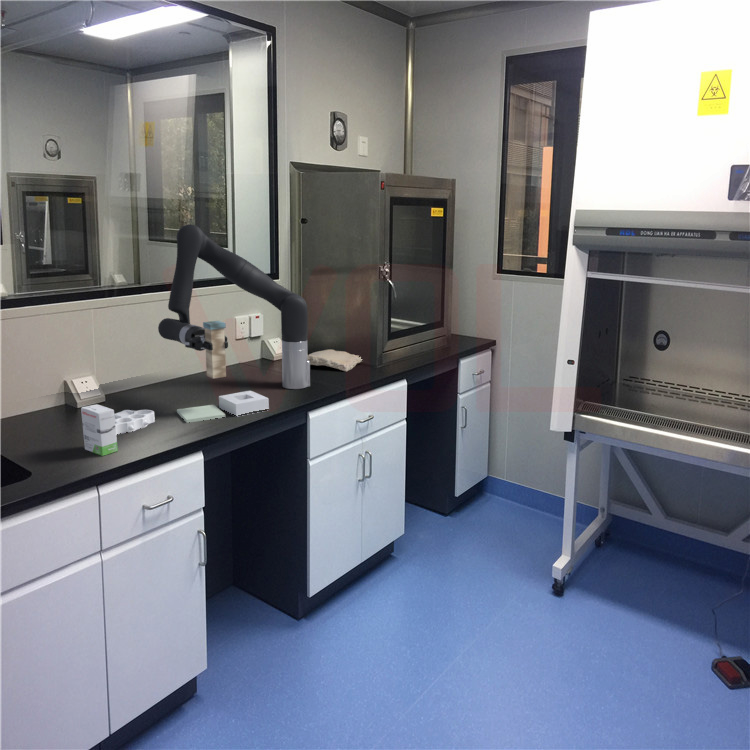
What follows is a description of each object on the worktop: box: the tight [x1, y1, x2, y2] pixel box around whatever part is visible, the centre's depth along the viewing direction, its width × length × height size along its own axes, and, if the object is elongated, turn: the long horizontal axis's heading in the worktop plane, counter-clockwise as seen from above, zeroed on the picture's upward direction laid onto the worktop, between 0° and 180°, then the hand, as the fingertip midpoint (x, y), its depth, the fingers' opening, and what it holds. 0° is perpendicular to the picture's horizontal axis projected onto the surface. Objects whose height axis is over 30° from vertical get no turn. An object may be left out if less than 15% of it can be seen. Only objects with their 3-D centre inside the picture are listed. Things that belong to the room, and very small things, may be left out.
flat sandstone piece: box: [308, 349, 363, 372], centre depth 278 cm, size 24×8×20 cm
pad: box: [176, 404, 226, 424], centre depth 210 cm, size 12×12×1 cm
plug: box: [202, 320, 227, 379], centre depth 208 cm, size 5×5×17 cm
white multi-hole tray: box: [114, 409, 156, 436], centre depth 198 cm, size 3×18×15 cm
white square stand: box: [218, 390, 270, 417], centre depth 217 cm, size 12×12×4 cm
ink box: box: [80, 403, 119, 457], centre depth 177 cm, size 9×5×12 cm, turn 53°
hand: (219, 346), depth 206 cm, fingers closed on plug, 4 cm apart
